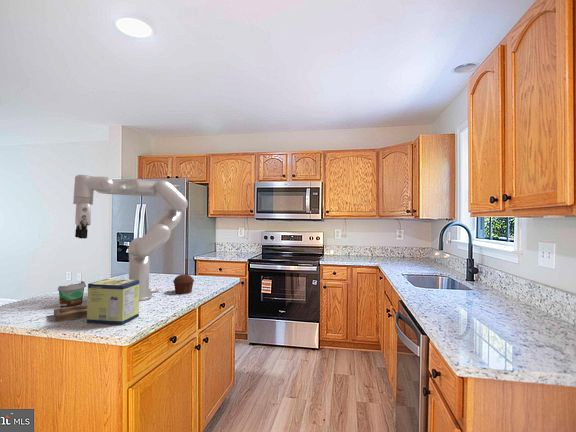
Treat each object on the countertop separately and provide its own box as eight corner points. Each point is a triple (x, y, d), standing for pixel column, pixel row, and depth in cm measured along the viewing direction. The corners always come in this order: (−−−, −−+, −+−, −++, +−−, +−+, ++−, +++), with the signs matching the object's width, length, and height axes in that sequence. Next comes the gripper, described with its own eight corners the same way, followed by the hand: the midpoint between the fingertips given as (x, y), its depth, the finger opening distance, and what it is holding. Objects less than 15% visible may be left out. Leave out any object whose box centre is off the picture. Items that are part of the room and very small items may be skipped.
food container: (67, 309, 128) (68, 287, 128) (56, 308, 129) (57, 286, 129) (91, 302, 140) (92, 281, 140) (81, 301, 141) (82, 280, 141)
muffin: (169, 291, 162) (170, 274, 163) (188, 289, 170) (188, 272, 170) (177, 296, 154) (178, 277, 154) (197, 292, 161) (197, 275, 161)
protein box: (105, 314, 121) (106, 278, 122) (139, 316, 120) (140, 279, 120) (85, 323, 111) (86, 283, 111) (122, 325, 109) (123, 285, 110)
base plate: (101, 307, 131) (101, 302, 131) (106, 313, 123) (106, 307, 123) (53, 315, 119) (53, 309, 119) (55, 322, 111) (55, 315, 111)
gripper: (96, 201, 129) (94, 238, 129) (89, 202, 142) (87, 237, 141) (76, 199, 124) (73, 238, 124) (70, 201, 137) (68, 237, 136)
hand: (80, 237), depth 132 cm, fingers open, 9 cm apart
